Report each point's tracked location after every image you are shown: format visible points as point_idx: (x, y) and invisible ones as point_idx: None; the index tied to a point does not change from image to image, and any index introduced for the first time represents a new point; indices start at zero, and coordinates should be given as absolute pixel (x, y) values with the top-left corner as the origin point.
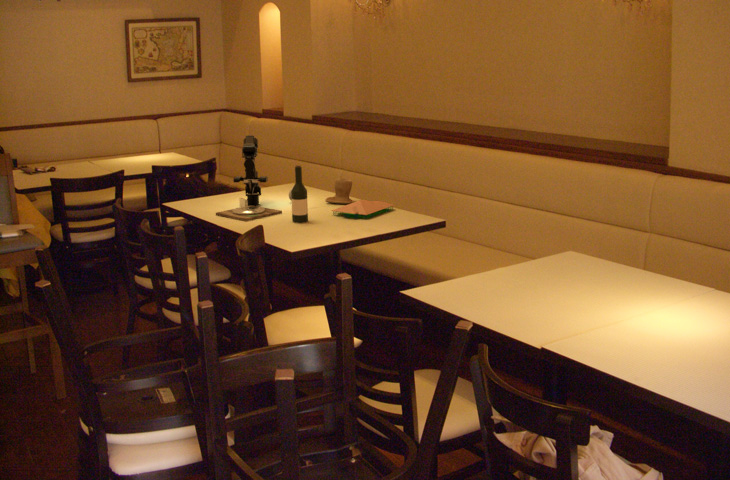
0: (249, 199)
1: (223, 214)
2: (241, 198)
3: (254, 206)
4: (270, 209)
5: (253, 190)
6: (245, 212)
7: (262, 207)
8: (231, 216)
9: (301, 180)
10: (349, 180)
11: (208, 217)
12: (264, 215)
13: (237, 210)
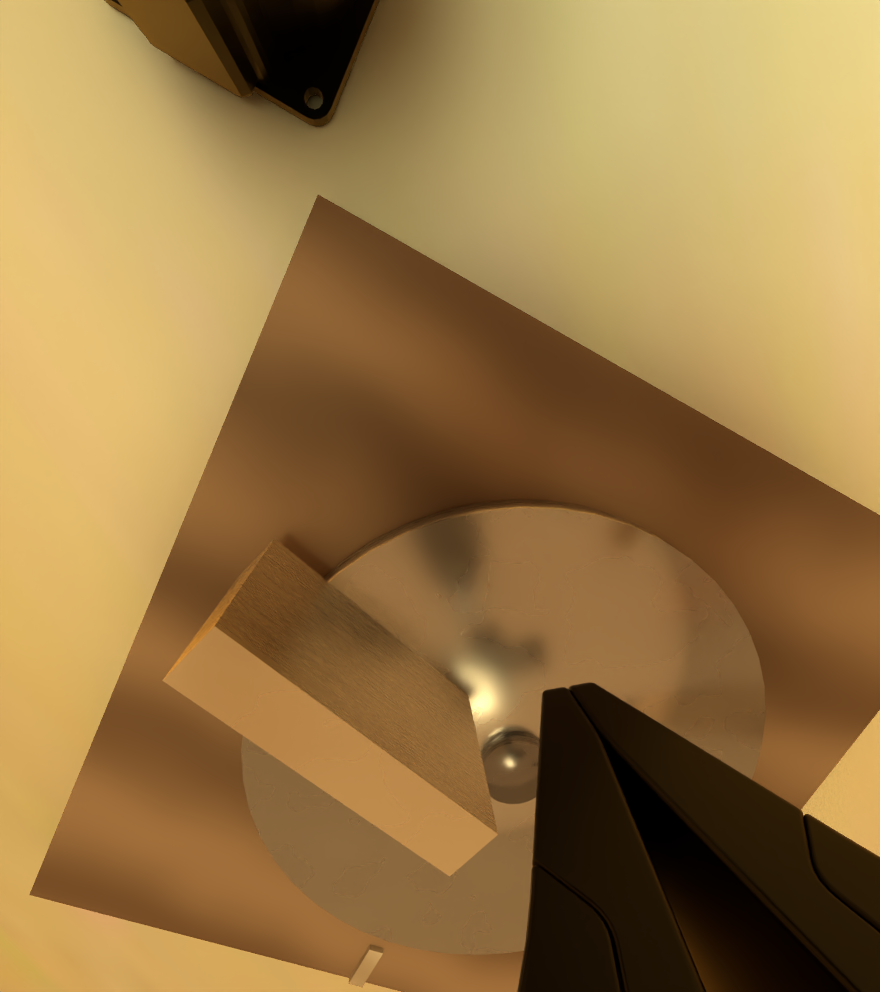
0: (182, 1)
1: (214, 940)
2: (260, 720)
3: (518, 509)
4: (799, 517)
5: (700, 750)
6: None
7: (692, 563)
8: (373, 974)
9: None
10: None
11: (40, 964)
12: None
13: (358, 846)
